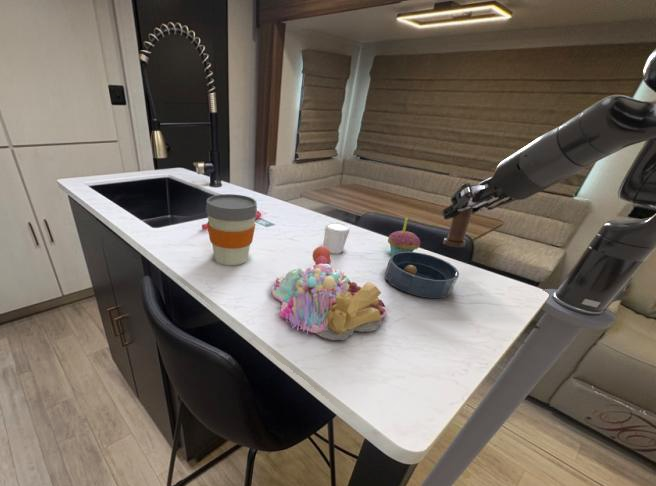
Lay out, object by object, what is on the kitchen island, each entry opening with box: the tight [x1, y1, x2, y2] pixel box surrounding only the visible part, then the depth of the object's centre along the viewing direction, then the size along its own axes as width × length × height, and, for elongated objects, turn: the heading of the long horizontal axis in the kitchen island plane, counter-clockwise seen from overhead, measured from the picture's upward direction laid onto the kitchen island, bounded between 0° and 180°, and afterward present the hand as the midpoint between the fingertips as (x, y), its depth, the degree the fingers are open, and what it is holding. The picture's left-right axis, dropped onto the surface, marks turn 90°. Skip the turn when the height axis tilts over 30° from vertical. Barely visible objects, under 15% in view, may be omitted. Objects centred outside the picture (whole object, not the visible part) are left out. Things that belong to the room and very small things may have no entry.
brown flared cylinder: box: [442, 183, 480, 248], centre depth 62 cm, size 4×4×12 cm
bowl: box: [384, 251, 460, 299], centre depth 75 cm, size 15×15×5 cm
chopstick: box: [201, 210, 262, 231], centre depth 103 cm, size 24×2×5 cm
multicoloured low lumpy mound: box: [271, 245, 388, 341], centre depth 64 cm, size 25×24×9 cm
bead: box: [404, 265, 417, 275], centre depth 77 cm, size 3×3×3 cm
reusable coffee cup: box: [205, 193, 258, 266], centre depth 78 cm, size 13×13×15 cm
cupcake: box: [387, 216, 421, 256], centre depth 86 cm, size 9×8×12 cm
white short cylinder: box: [322, 222, 350, 254], centre depth 89 cm, size 7×7×7 cm
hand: (452, 214), depth 65 cm, fingers closed on brown flared cylinder, 3 cm apart
